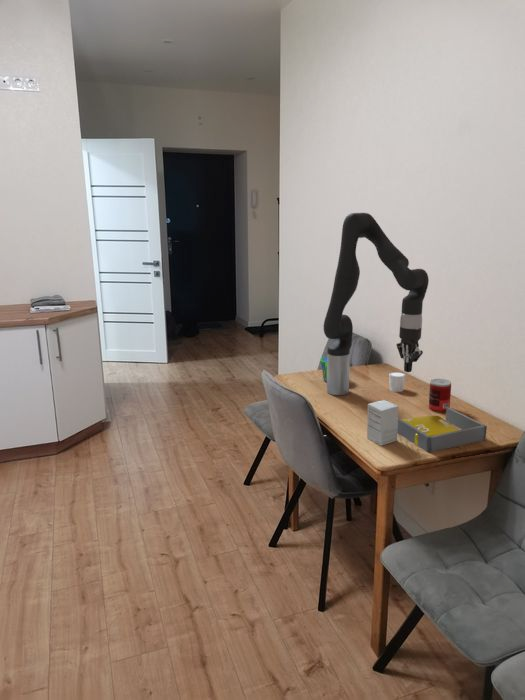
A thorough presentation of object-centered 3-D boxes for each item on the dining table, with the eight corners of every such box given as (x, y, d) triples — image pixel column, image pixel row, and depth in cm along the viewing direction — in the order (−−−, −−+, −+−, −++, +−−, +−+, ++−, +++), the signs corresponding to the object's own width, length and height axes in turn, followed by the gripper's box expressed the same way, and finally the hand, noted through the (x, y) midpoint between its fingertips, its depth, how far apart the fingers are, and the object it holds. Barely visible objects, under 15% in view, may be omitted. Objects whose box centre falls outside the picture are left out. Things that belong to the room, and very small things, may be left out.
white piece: (405, 392, 219) (406, 377, 217) (388, 392, 220) (389, 376, 218) (404, 387, 225) (405, 372, 223) (388, 386, 227) (388, 371, 225)
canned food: (450, 406, 203) (452, 379, 200) (448, 413, 196) (450, 386, 193) (430, 403, 206) (431, 377, 203) (427, 411, 199) (428, 383, 196)
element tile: (460, 443, 172) (461, 430, 170) (418, 448, 169) (418, 434, 168) (438, 426, 186) (438, 413, 185) (398, 430, 184) (399, 417, 182)
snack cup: (335, 387, 228) (336, 365, 225) (313, 383, 233) (313, 362, 231) (349, 377, 241) (349, 356, 238) (328, 374, 246) (328, 353, 244)
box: (394, 430, 182) (395, 417, 181) (447, 420, 190) (448, 407, 188) (428, 452, 165) (429, 438, 164) (485, 439, 173) (486, 426, 172)
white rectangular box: (382, 433, 180) (384, 399, 177) (397, 441, 174) (399, 405, 171) (366, 438, 177) (367, 403, 174) (380, 446, 171) (381, 410, 167)
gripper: (391, 322, 190) (388, 367, 195) (413, 330, 178) (410, 378, 183) (408, 320, 192) (405, 365, 197) (431, 328, 180) (427, 375, 185)
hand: (407, 371), depth 190 cm, fingers closed
